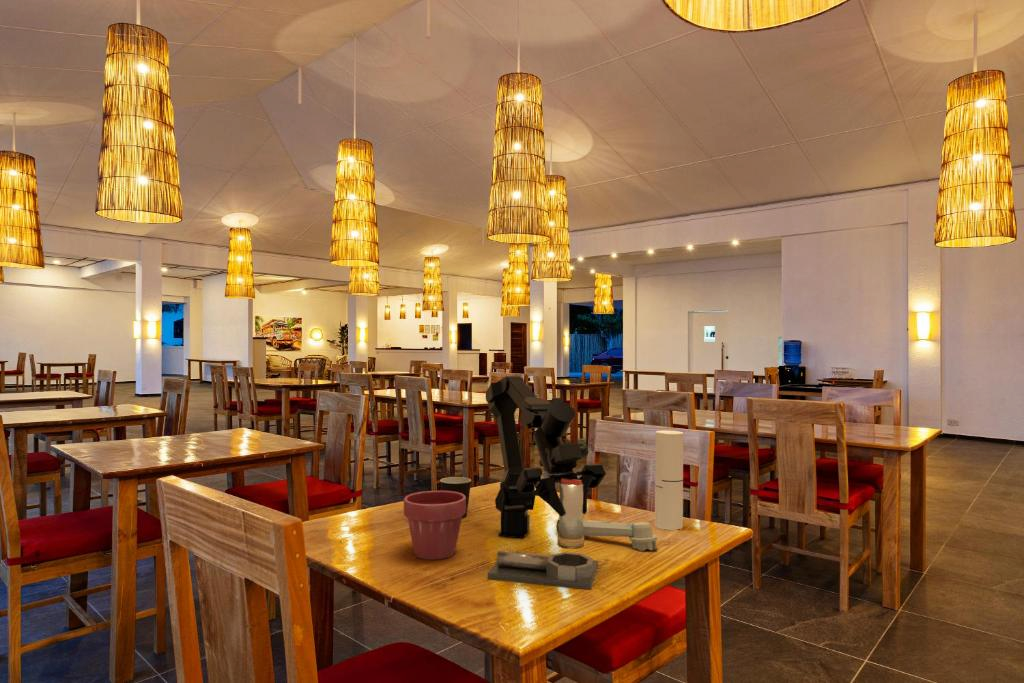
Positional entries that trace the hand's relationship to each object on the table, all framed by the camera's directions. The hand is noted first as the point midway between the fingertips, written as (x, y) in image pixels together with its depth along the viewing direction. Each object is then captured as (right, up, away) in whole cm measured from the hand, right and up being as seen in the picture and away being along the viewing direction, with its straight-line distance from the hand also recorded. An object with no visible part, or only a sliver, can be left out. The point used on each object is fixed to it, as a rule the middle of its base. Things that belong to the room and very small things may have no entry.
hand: (574, 514), depth 122 cm
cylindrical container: (+29, -14, +39) cm, 51 cm away
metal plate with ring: (-6, -13, +4) cm, 15 cm away
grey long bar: (+10, -14, +26) cm, 31 cm away
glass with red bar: (-1, -7, +1) cm, 7 cm away
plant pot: (-30, -13, +15) cm, 36 cm away
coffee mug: (-28, -14, +48) cm, 57 cm away
